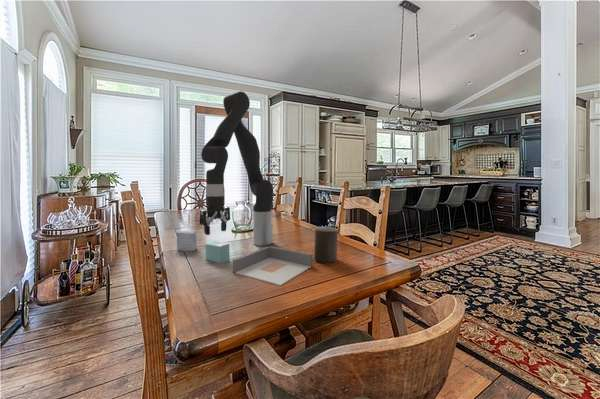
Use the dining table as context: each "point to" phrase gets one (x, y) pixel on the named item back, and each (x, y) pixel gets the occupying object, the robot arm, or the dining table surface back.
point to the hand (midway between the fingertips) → (215, 232)
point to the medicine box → (186, 241)
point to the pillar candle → (325, 244)
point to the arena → (272, 264)
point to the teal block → (217, 252)
